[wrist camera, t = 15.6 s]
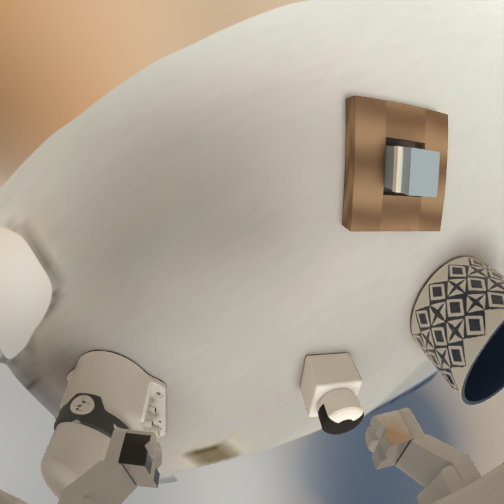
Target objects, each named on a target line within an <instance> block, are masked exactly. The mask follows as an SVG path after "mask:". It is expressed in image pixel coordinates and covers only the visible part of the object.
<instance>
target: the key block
mask: <svg viewBox="0 0 504 504" xmlns="http://www.w3.org/2000/svg"><path fill="white" fill-rule="evenodd" d="M439 162H440V152H436V151H430V150H424V149H418V148H411V147H401V146H386V147H385V172H384V187H386V188H389V189H391V190H392V191H393V192H396V193H403V194H406V195H409V196H425V197H437V190H438V178H439Z"/></svg>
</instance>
